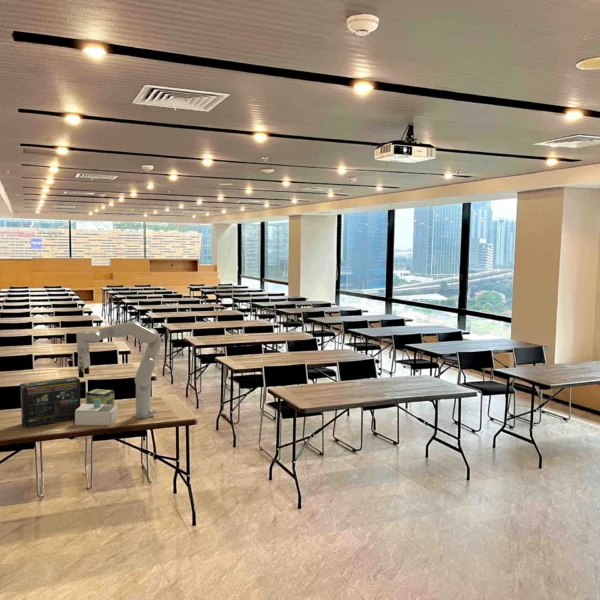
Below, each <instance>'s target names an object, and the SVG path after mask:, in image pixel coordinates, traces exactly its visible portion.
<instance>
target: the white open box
mask: <svg viewBox="0 0 600 600" xmlns="http://www.w3.org/2000/svg"><path fill="white" fill-rule="evenodd" d="M118 416H119V405H117V404H114V405H104V406H103V407H102V408H101V409H100V410H99V411H98V412H86V411H76V412H75V420H74V421H75V422H74V425H75V427H77V426H78V427H79V426H83V427H85V426H86V427H88V426H89V427H110V426H112V424H114V422H116V420H117V419H118Z"/></svg>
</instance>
